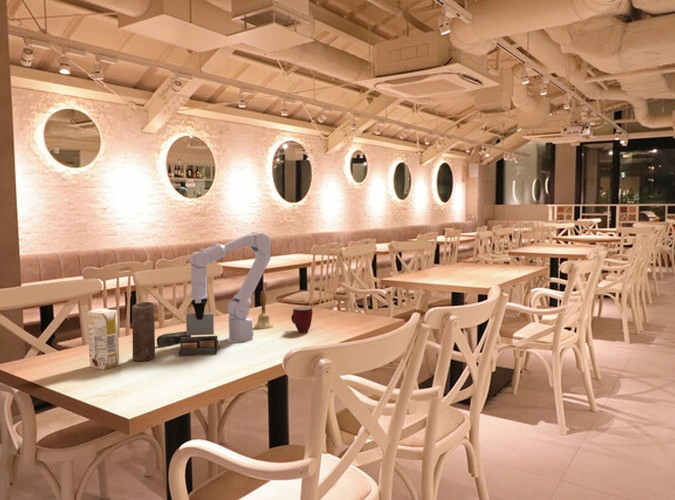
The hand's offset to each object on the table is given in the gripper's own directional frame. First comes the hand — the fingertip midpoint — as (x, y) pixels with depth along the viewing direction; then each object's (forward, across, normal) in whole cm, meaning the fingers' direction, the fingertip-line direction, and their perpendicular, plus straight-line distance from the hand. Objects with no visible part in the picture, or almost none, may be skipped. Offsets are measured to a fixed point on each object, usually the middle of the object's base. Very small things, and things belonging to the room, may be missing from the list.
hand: (199, 318), depth 203 cm
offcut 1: (+10, +13, -3) cm, 16 cm away
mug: (+10, -15, +40) cm, 44 cm away
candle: (+11, +17, -18) cm, 27 cm away
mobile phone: (+11, -2, -10) cm, 15 cm away
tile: (+10, 0, 0) cm, 10 cm away
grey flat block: (+6, 0, 0) cm, 6 cm away
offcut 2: (+10, +13, +3) cm, 17 cm away
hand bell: (+10, -27, +25) cm, 39 cm away
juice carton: (+11, +21, -30) cm, 38 cm away
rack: (+10, +10, 0) cm, 15 cm away
